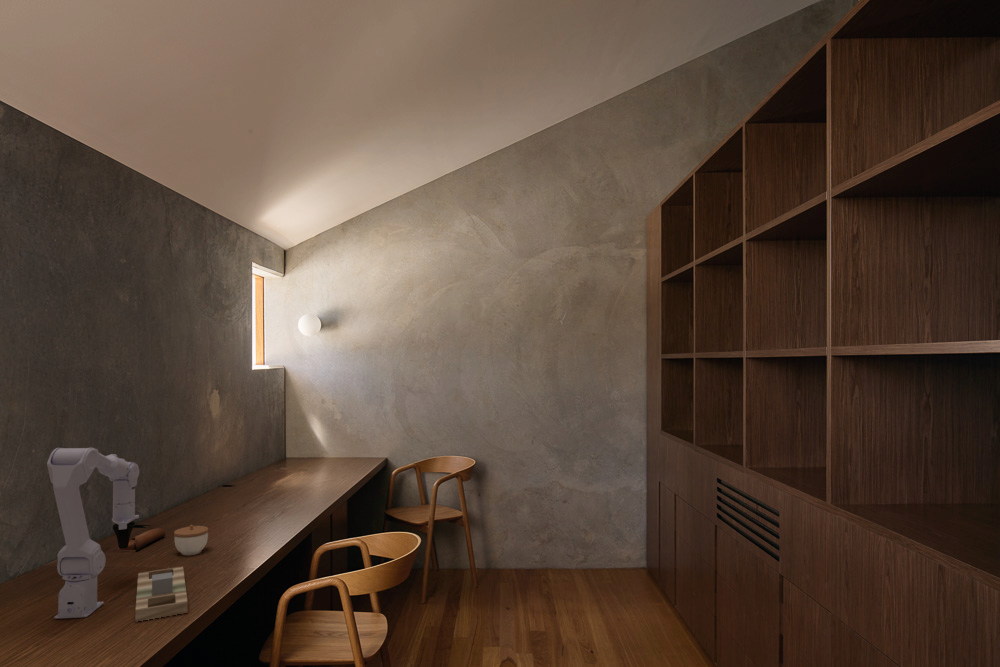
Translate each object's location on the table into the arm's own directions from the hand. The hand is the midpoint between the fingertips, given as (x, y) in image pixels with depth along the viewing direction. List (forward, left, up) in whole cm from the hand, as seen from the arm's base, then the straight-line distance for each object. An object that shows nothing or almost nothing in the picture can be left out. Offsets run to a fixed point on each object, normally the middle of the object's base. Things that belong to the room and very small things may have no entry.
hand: (123, 548), depth 194 cm
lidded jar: (+28, -10, -11) cm, 32 cm away
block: (-17, -17, -7) cm, 25 cm away
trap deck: (-13, -16, -10) cm, 23 cm away
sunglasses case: (+41, +11, -11) cm, 44 cm away
